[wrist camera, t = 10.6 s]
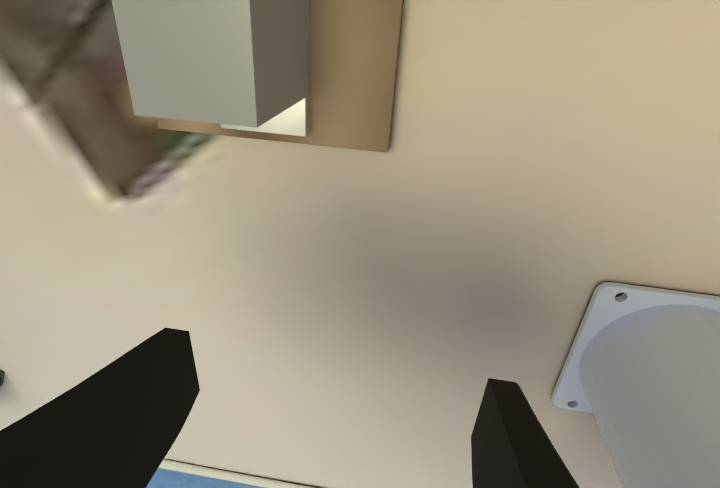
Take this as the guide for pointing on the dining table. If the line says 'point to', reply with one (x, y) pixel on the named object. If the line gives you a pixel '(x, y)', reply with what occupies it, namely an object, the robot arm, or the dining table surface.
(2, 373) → the mini dv tape
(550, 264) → the dining table surface
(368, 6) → the board
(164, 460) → the tablet computer
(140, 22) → the block
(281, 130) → the rail
